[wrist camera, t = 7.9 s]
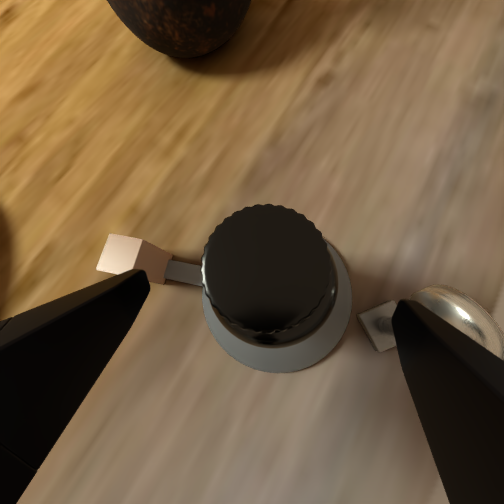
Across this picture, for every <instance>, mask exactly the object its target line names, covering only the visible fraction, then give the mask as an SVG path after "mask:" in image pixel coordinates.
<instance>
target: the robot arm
mask: <svg viewBox="0 0 504 504" xmlns="http://www.w3.org/2000/svg"><path fill="white" fill-rule="evenodd" d="M149 292H150V284H149V280H148V277H147V274H146V272H145V270H143V269H131V270H128V271H126V272H123V273H121V274H118V275H116V276H113V277H111V278H108V279H106V280H103V281H101V282H98V283H96V284H93V285H91V286H88V287H86V288H83V289H81V290H78V291H76V292H73V293H71V294H68V295H66V296H63V297H61V298H58V299H56V300H53V301H51V302H48V303H46V304H43V305H41V306H38V307H36V308H33V309H31V310H28V311H26V312H23V313H21V314H18V315H15V316H14V317H10V318H8V319H5V320H3V321H0V504H16V503H17V502H18V500H19V499H20V497H21V496H22V494H23V493H24V491H25V489H26V488H27V486H28V485H29V483H30V482H31V480H32V479H33V477H34V476H35V474H36V473H37V470H38V469H39V468H40V466H41V465H42V463H43V462H44V460H45V458H46V457H47V455H48V454H49V452H50V451H51V449H52V448H53V446H54V445H55V443H56V442H57V440H58V439H59V437H60V436H61V434H62V432H63V431H64V429H65V428H66V426H67V425H68V423H69V422H70V420H71V419H72V417H73V416H74V414H75V413H76V411H77V410H78V408H79V406H80V405H81V403H82V402H83V400H84V399H85V397H86V396H87V394H88V393H89V391H90V390H91V388H92V387H93V385H94V383H95V382H96V380H97V379H98V377H99V376H100V374H101V373H102V371H103V370H104V368H105V367H106V365H107V364H108V362H109V361H110V359H111V357H112V356H113V354H114V353H115V351H116V350H117V348H118V347H119V345H120V344H121V342H122V341H123V339H124V338H125V336H126V334H127V333H128V331H129V330H130V328H131V326H132V325H133V323H134V321H135V319H136V317H137V315H138V313H139V312H140V310H141V308H142V306H143V304H144V302H145V300H146V298H147V296H148V294H149ZM391 324H392V328H393V333H394V337H395V341H396V345H397V350H398V354H399V358H400V362H401V366H402V370H403V373H404V376H405V379H406V382H407V385H408V387H409V390H410V393H411V396H412V399H413V401H414V404H415V407H416V410H417V413H418V416H419V418H420V421H421V424H422V427H423V430H424V432H425V435H426V438H427V441H428V444H429V447H430V449H431V452H432V455H433V458H434V461H435V463H436V466H437V469H438V472H439V475H440V478H441V480H442V483H443V486H444V489H445V492H446V494H447V497H448V500H449V503H450V504H504V360H502V359H501V358H499V357H498V356H496V355H495V354H493V353H492V352H490V351H489V350H487V349H486V348H485V347H483V346H482V345H480V344H479V343H477V342H476V341H474V340H473V339H471V338H470V337H469V336H467V335H466V334H464V333H463V332H461V331H460V330H458V329H457V328H455V327H454V326H453V325H451V324H450V323H448V322H447V321H445V320H444V319H442V318H441V317H439V316H438V315H437V314H435V313H434V312H432V311H431V310H429V309H428V308H426V307H425V306H423V305H422V304H421V303H419V302H418V301H416V300H409V299H401V300H400V301H399V302H398V304H397V306H396V309H395V311H394V313H393V315H392V319H391Z"/></svg>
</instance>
